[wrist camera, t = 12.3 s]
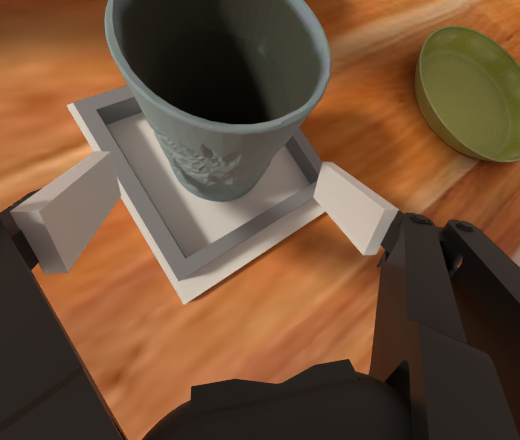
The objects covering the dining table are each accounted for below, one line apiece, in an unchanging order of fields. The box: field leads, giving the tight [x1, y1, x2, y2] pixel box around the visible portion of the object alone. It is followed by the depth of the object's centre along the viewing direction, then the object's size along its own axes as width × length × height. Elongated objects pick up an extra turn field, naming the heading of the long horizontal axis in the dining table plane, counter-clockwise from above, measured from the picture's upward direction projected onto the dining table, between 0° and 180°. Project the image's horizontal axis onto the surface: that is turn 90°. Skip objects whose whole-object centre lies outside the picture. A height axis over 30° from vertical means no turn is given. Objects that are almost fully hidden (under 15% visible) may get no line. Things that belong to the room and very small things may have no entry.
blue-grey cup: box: [105, 0, 331, 202], centre depth 16 cm, size 10×10×12 cm
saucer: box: [415, 26, 520, 162], centre depth 31 cm, size 21×21×3 cm
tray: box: [67, 85, 326, 305], centre depth 21 cm, size 20×18×3 cm
